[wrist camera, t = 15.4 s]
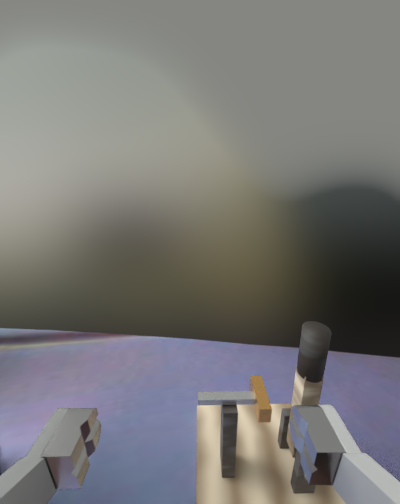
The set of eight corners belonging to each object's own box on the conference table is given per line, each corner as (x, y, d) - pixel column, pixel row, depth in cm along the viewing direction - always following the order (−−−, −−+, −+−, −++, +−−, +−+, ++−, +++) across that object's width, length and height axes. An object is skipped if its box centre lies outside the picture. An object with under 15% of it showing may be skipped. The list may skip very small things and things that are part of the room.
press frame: (196, 581, 26) (192, 503, 21) (197, 412, 45) (195, 350, 40) (393, 578, 26) (436, 499, 21) (310, 410, 45) (322, 348, 40)
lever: (291, 461, 32) (310, 338, 25) (283, 436, 35) (298, 321, 28) (312, 460, 32) (337, 337, 25) (302, 436, 35) (322, 320, 28)
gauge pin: (198, 423, 28) (197, 410, 27) (198, 388, 33) (198, 376, 32) (270, 422, 28) (272, 409, 27) (260, 387, 33) (261, 375, 32)
